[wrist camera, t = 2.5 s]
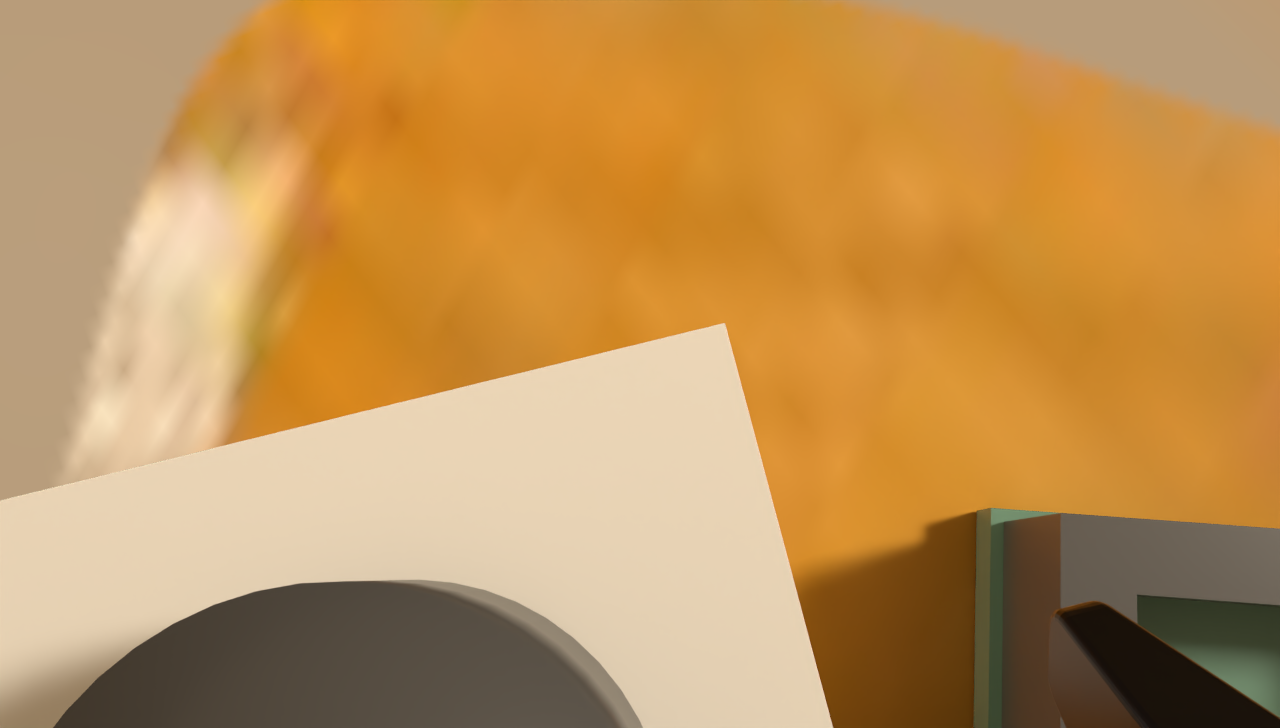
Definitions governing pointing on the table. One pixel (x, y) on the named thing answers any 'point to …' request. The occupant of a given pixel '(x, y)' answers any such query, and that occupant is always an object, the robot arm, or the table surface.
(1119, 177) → the table surface
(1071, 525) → the grey and green tray
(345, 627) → the plug
